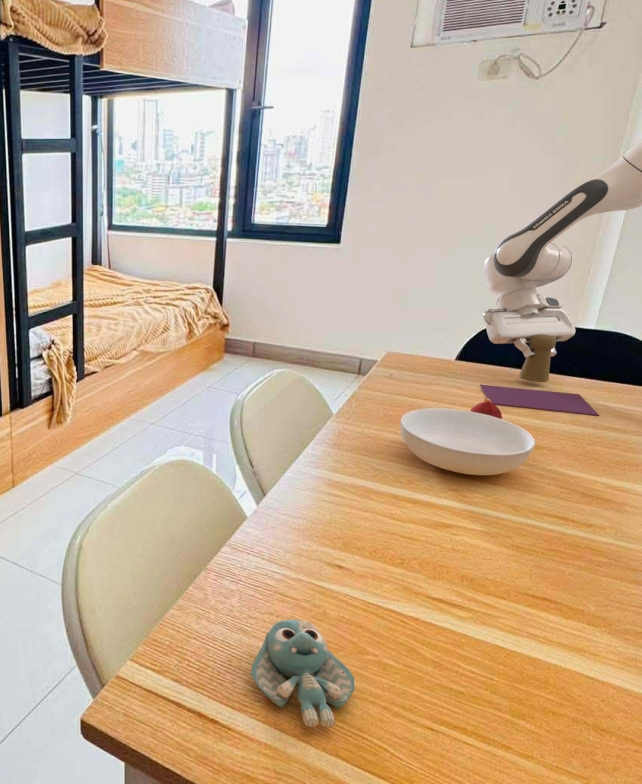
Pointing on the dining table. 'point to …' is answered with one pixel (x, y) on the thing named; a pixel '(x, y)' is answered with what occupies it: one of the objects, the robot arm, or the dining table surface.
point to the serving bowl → (466, 441)
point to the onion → (487, 409)
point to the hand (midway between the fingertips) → (541, 355)
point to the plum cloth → (538, 399)
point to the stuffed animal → (302, 671)
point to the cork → (538, 359)
